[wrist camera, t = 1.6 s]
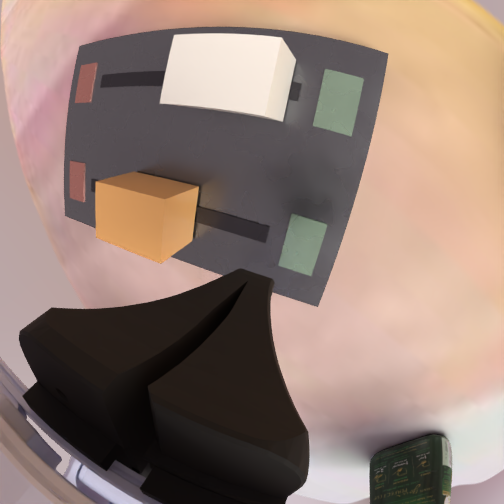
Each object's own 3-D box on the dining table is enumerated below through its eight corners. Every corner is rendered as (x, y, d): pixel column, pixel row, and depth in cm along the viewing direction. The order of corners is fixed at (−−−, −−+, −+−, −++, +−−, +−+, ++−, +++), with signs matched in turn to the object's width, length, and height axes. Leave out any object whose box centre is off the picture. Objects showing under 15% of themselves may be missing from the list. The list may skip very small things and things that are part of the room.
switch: (282, 121, 13) (264, 116, 10) (195, 108, 14) (159, 103, 11) (296, 59, 12) (281, 37, 9) (207, 51, 13) (174, 34, 10)
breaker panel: (320, 294, 18) (317, 307, 17) (77, 211, 22) (64, 216, 21) (384, 61, 12) (388, 53, 10) (92, 48, 16) (78, 46, 14)
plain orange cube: (192, 241, 17) (160, 263, 14) (131, 220, 18) (96, 237, 15) (199, 186, 16) (165, 199, 13) (133, 171, 17) (95, 181, 14)
